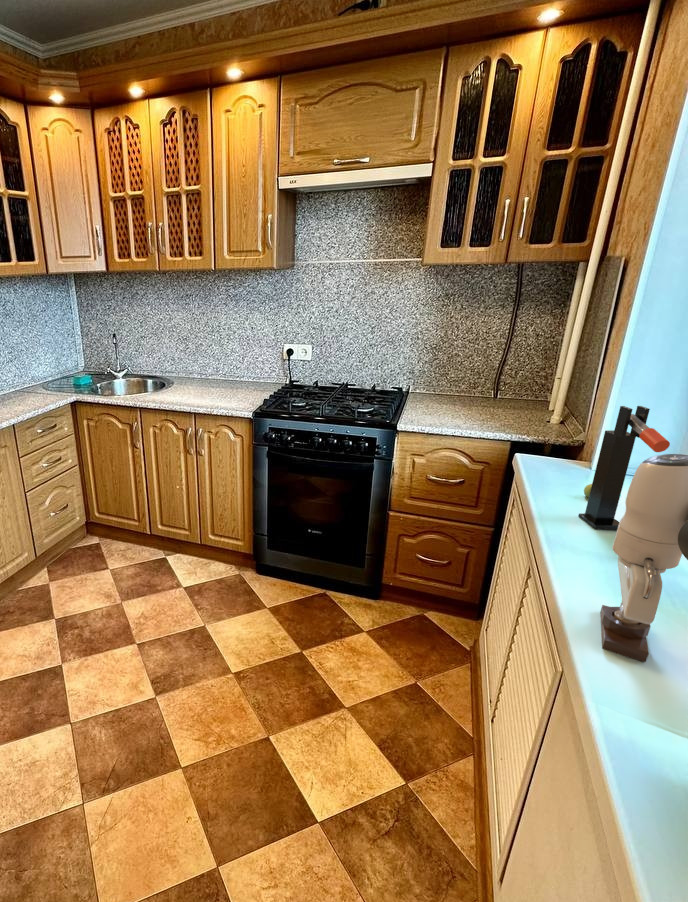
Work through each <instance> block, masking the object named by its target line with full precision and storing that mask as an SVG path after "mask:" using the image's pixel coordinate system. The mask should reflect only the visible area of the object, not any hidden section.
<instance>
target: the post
mask: <svg viewBox="0 0 688 902" xmlns="http://www.w3.org/2000/svg"><path fill="white" fill-rule="evenodd" d="M650 410H651V408H648V407H645V406H643V405H637V406H636V410H635V412H634V415H635V416H636V417H638V418H639V419H640V420H641V421H642V422H643V423H644V424H646V425H647V422H648V418H649V414H650ZM632 412H633V408H631V407H628V406H625V405H620V406H619V410H618V414H617V418H616V422H615V426H614V430H611V429H610V430H604V433H603V438H602V442H601V446H600V447H601V448H600V450H599V455H598V459H597V463H596V467H595V471H594V475H593V478H592V483H591V484H592V487H591V491H590V495H589V498H587V499H588V500H587V504H586V508H585V511H584V513H578V518H579V519H581V520H582V521H583V522H585V523H586V524H587V525H588V526H589V527H591V529H593V530H596V531H604V530H605V531H609V530H610V531H617V529H618V525H619V522H620V520H617V519H615V517H616V513H617V510H618V506H619V502H620V498H621V494H622V490H623V487H624V483H625V481H626V480H625V479H626V476H627V472H628V469H629V464H630V461H631V457H632V453H633V449H634V447H635V442H636V438H638V439H640V434H638V433H637V432H636V431H635V430H634V429H633V428H632V427H630V432H629V431H628V430H629V429H628V428H629V426H630V425H629V421H630V417H631V414H633V413H632Z"/></svg>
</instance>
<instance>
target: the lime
mask: <svg viewBox="0 0 688 902" xmlns="http://www.w3.org/2000/svg"><path fill="white" fill-rule="evenodd" d="M591 487H592V483H589V484H587V485H586V486H584V488H583V494H584V496H585V497H587V499H589V495H590V491H591Z"/></svg>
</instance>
